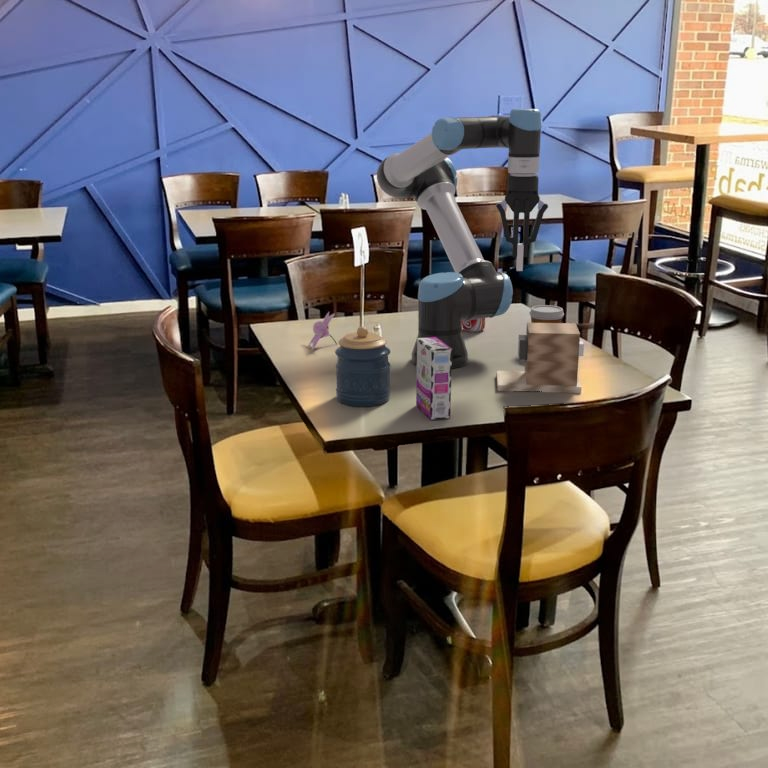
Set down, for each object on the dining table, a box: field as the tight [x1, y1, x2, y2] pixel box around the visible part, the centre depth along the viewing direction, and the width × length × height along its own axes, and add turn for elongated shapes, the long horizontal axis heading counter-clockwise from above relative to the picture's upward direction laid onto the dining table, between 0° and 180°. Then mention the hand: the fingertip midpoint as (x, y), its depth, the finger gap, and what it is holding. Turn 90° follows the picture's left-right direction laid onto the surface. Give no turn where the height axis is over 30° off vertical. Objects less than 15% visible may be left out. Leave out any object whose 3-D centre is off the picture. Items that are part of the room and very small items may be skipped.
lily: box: [309, 311, 338, 351], centre depth 262 cm, size 12×12×10 cm
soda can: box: [462, 318, 486, 333], centre depth 277 cm, size 7×7×12 cm
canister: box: [334, 326, 392, 408], centre depth 216 cm, size 13×13×18 cm
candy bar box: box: [415, 337, 453, 421], centre depth 207 cm, size 11×5×16 cm, turn 16°
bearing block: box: [496, 322, 582, 394], centre depth 226 cm, size 20×12×14 cm, turn 85°
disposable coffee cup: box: [528, 304, 565, 323], centre depth 255 cm, size 10×10×12 cm
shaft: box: [517, 334, 585, 361], centre depth 225 cm, size 16×5×5 cm, turn 85°
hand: (519, 269), depth 232 cm, fingers closed
